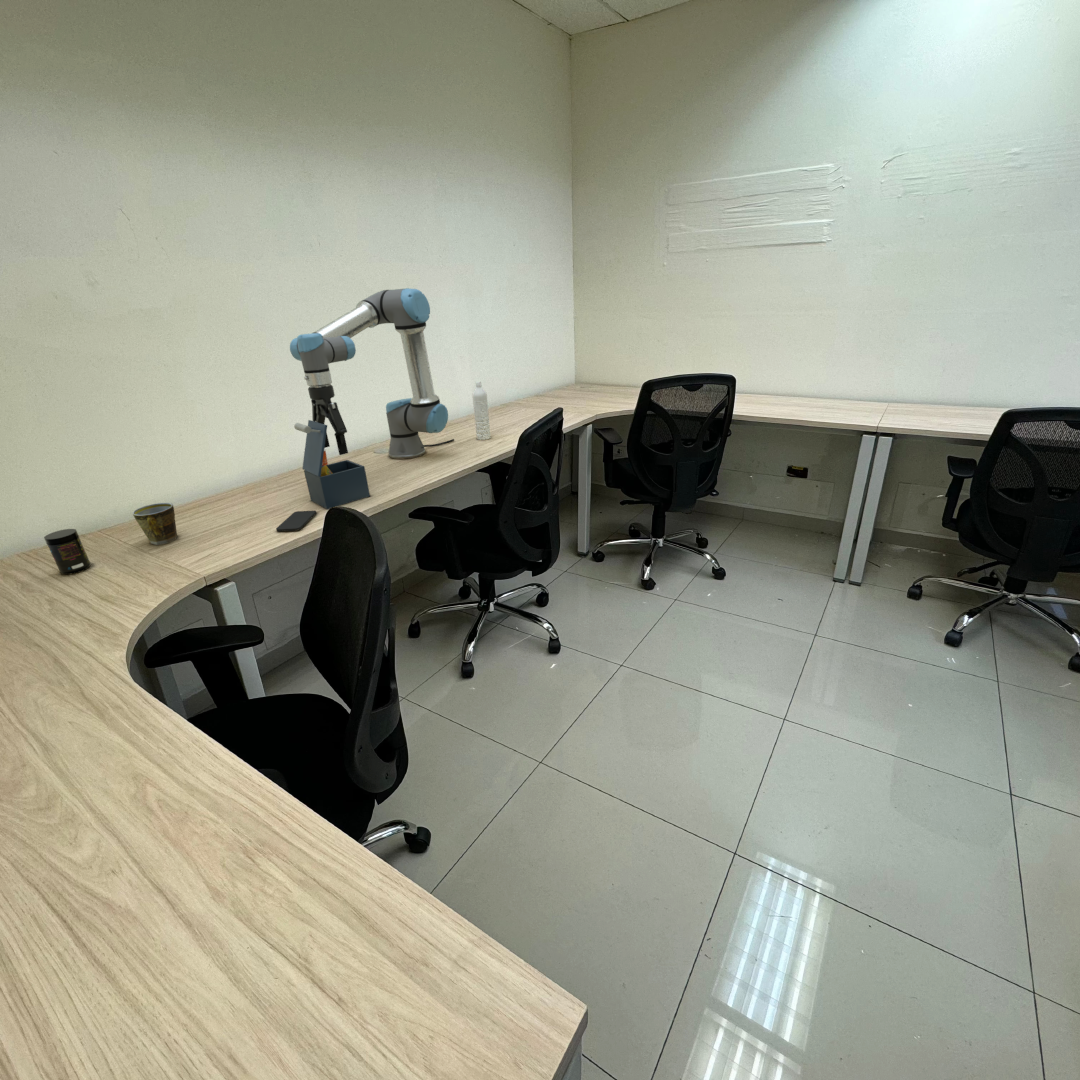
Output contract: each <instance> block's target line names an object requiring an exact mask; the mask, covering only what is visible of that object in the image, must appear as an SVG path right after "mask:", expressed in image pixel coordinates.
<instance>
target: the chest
mask: <svg viewBox="0 0 1080 1080" xmlns="http://www.w3.org/2000/svg"><path fill="white" fill-rule="evenodd" d="M324 466H325V465H324ZM324 466H322V467H324ZM326 466H327V467H328V468H329V470H330V471H331V472H332V473H333V474H330V475H326V476H322V477H321V476H317V475H314V474H312V473H310V472H308V471H305V470H303V473H304V478H305V482H306V486H307V490H308V494H309V498H310V502H312V503H315V504H316V505H318V506H320V507H322V508H324V509H326V510H329V509H333V508H336V507H339V506H342V505H345V504H349V503H353V502H355V501H356V502H357V501H359V500H362V499H365V498H369V497H371V495H370V494H371V493H370V488H369V484H368V477H367V472H366V467H365V466H364V465H363V464H360V463H358V462H355V461H352V460H349V459H345V460H339V461H336V462H332V463H328V465H326ZM335 506H336V507H335ZM332 507H333V508H332Z"/></svg>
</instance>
